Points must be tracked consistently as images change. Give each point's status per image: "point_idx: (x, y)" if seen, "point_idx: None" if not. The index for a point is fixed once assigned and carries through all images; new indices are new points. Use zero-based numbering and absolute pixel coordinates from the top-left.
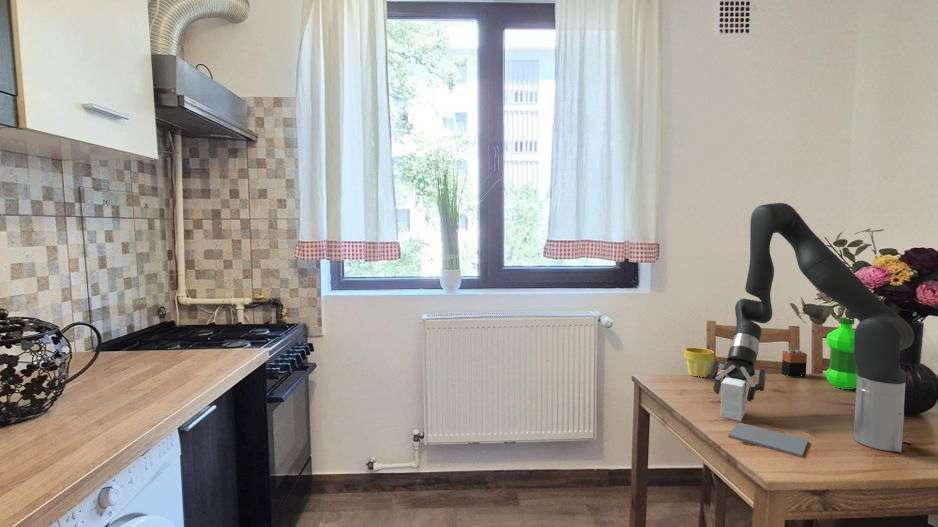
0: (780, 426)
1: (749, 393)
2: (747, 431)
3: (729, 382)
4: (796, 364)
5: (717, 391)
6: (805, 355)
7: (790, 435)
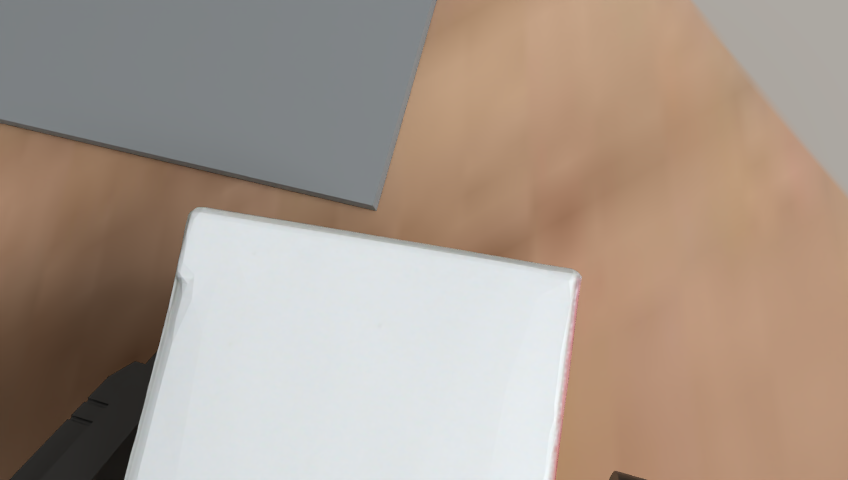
0: (47, 351)
1: (136, 396)
2: (321, 34)
3: (416, 364)
4: None
5: (612, 478)
6: None
7: (24, 121)
